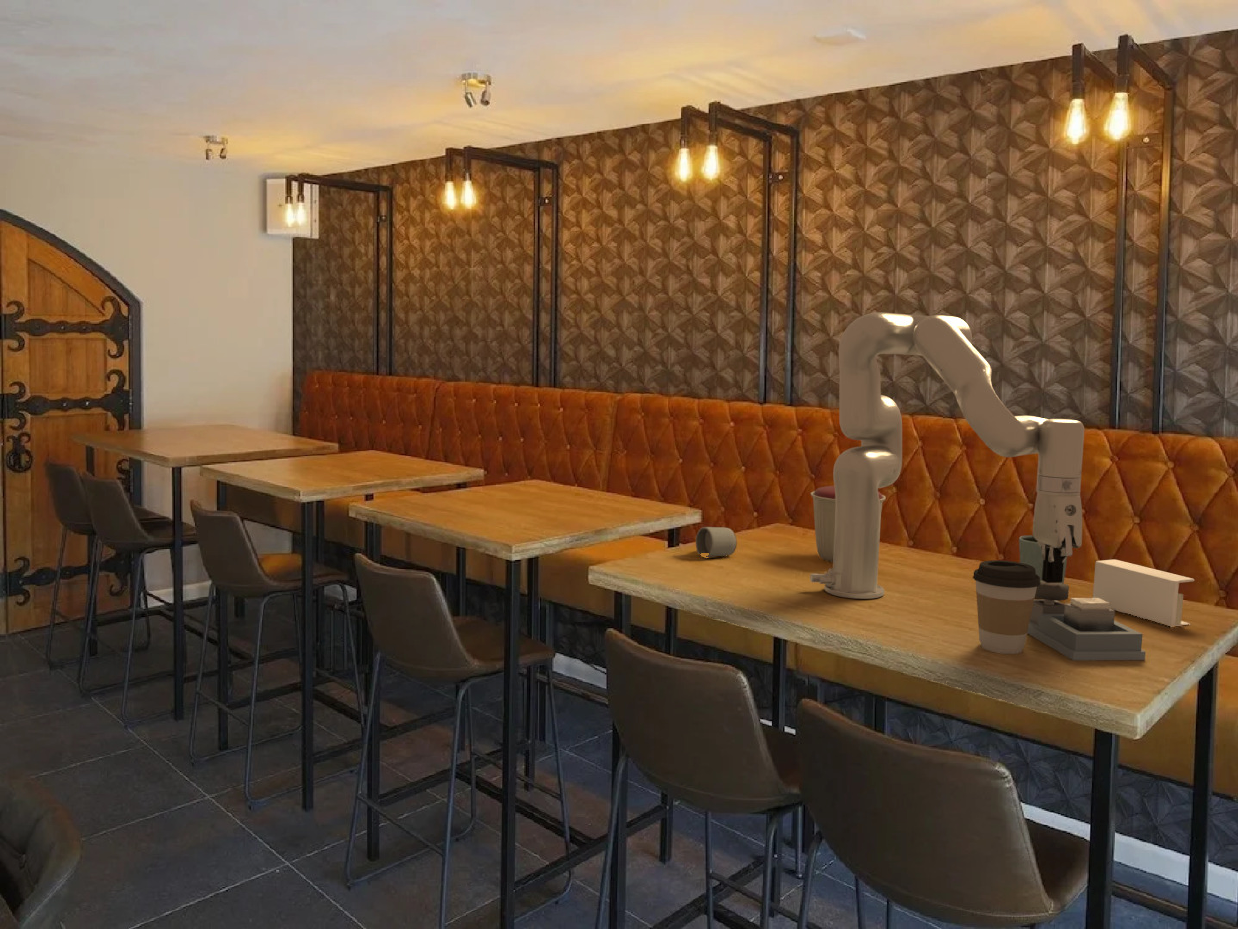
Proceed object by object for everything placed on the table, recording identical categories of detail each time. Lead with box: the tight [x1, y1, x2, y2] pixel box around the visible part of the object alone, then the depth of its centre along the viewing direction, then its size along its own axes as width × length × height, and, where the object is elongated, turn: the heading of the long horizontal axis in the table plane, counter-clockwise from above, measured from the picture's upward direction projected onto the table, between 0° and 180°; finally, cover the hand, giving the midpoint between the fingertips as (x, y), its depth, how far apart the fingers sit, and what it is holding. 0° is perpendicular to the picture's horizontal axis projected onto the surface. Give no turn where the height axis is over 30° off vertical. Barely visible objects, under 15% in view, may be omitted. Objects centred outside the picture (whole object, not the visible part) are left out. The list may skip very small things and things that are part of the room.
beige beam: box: [1092, 558, 1195, 627], centre depth 206 cm, size 20×6×9 cm, turn 23°
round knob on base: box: [1035, 581, 1070, 605], centre depth 191 cm, size 6×6×7 cm
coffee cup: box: [971, 559, 1041, 655], centre depth 179 cm, size 11×11×15 cm
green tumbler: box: [1018, 534, 1068, 584], centre depth 221 cm, size 10×10×12 cm
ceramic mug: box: [695, 526, 738, 558], centre depth 253 cm, size 11×8×8 cm
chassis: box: [1027, 599, 1146, 661], centre depth 185 cm, size 13×22×6 cm, turn 5°
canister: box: [810, 485, 886, 563], centre depth 249 cm, size 18×18×21 cm
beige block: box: [1064, 597, 1116, 632], centre depth 181 cm, size 5×6×7 cm
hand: (1052, 581), depth 190 cm, fingers closed
